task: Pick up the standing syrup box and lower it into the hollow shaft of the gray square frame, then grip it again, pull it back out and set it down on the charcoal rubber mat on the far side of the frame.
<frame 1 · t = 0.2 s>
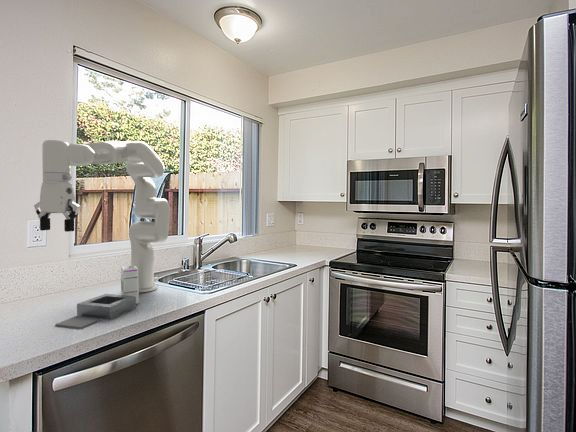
hand: (57, 230, 110), 31 cm above the counter, fingers open, 9 cm apart
gray square frame: (107, 312, 123), on the counter
charcoal mat: (78, 323, 112), on the counter
syrup box: (129, 303, 135), on the counter
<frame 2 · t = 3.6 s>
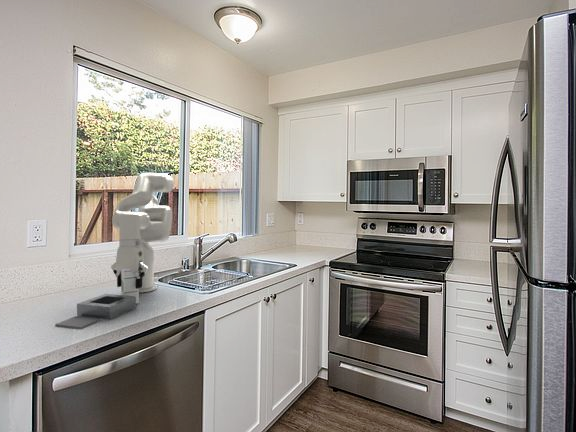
hand: (129, 286, 134), 7 cm above the counter, fingers closed on syrup box, 7 cm apart
syrup box: (129, 303, 135), on the counter, touching gripper
when the fingers open (8 cm above the counter, at t = 10.3 s): syrup box drops 1 cm, resting in gray square frame.
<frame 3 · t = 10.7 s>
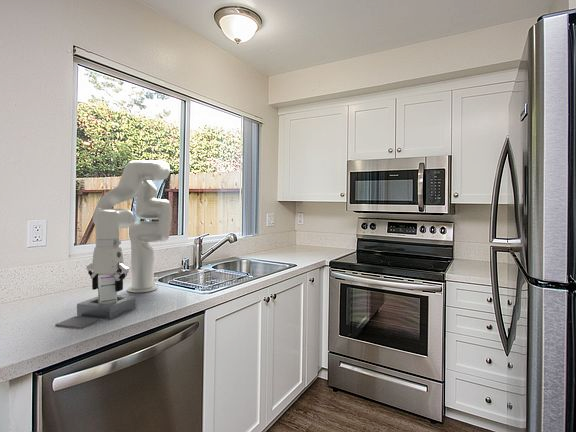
hand: (107, 289, 123), 8 cm above the counter, fingers open, 9 cm apart
syrup box: (107, 312, 123), resting in gray square frame
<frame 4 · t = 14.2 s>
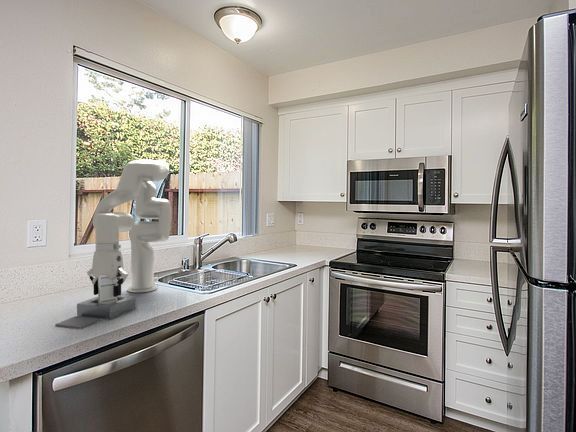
hand: (107, 294, 123), 7 cm above the counter, fingers closed on syrup box, 7 cm apart
syrup box: (107, 312, 123), resting in gray square frame, touching gripper
when the fingers open (8 cm above the counter, at t = 20.8 s): syrup box drops 1 cm, resting on charcoal mat.
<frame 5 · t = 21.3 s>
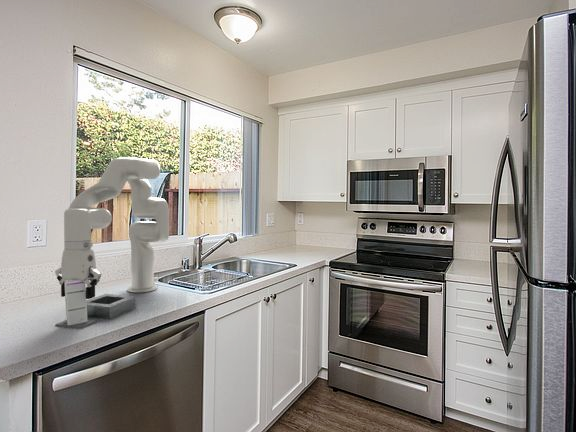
hand: (78, 296, 111), 9 cm above the counter, fingers open, 9 cm apart
syrup box: (76, 322, 111), resting on charcoal mat
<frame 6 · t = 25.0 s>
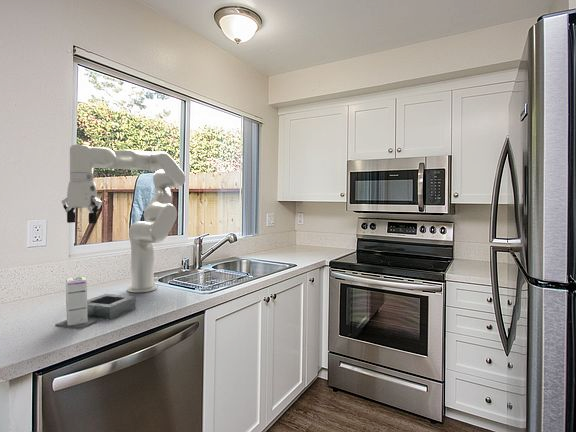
hand: (81, 222, 128), 32 cm above the counter, fingers open, 9 cm apart
nothing on the counter moved.
at the end: syrup box inside the target area (0.4 cm from its centre), resting on charcoal mat; syrup box tilted 0°; the gripper is holding nothing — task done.
